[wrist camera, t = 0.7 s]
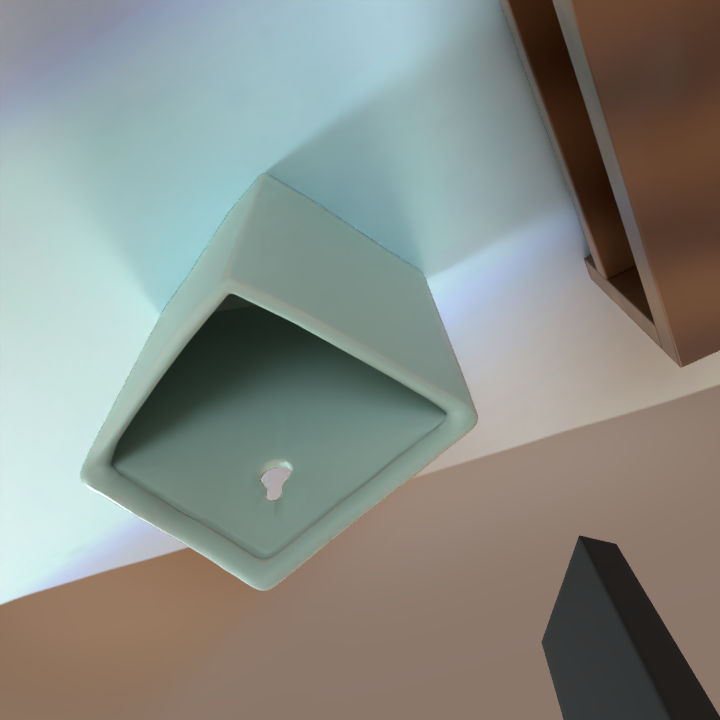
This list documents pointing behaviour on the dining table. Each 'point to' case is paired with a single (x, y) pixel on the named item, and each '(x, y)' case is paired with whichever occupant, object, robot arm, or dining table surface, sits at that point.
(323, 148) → the dining table surface
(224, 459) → the planter
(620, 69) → the shelf
